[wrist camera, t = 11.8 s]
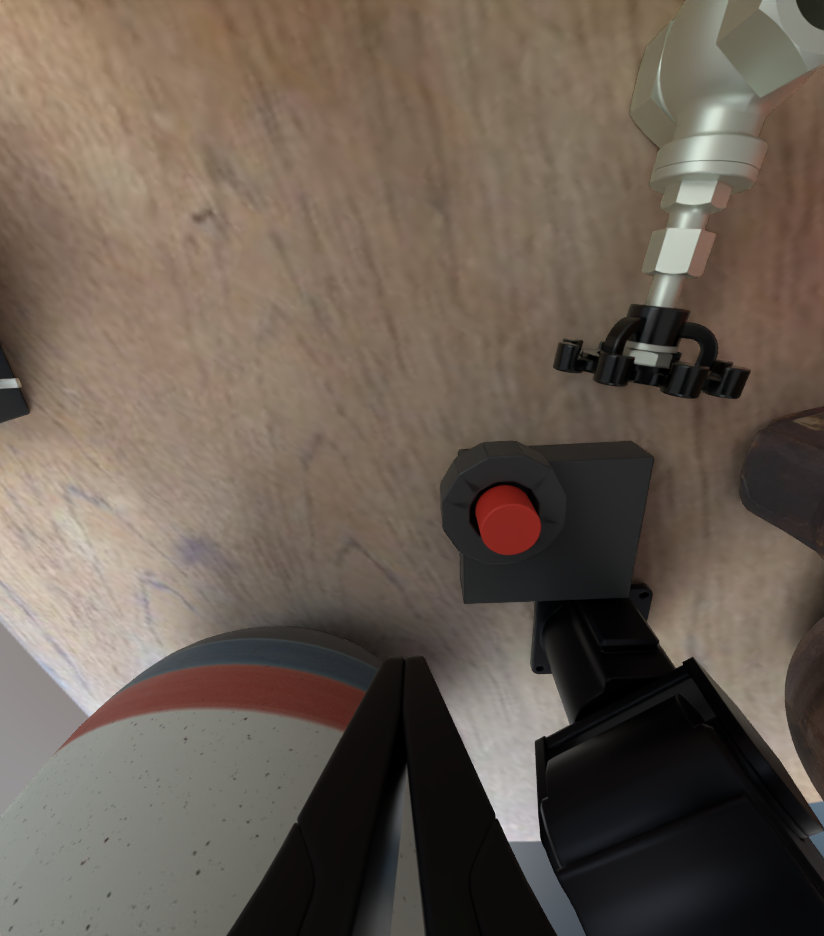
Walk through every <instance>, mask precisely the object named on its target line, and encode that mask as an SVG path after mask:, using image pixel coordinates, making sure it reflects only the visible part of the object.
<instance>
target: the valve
mask: <svg viewBox="0 0 824 936" xmlns="http://www.w3.org/2000/svg"><path fill="white" fill-rule="evenodd" d="M822 67H824V0H685V2H684V3H683V5H682V6H681V8H680V10H679V12H678V13H677V16H676V18H675V19H674V20H672V21H670V22H669V23H668V24H667V25H666V26H665V27H664V28H663V30H662V31H661V32H660V33H659V34H658V35H657V36H656V37H655V38H654V39H653V40H652V41H651V42H650V43H649V44H648V45H647V46H646V49H645V52H644V55H643V59H642V62H641V65H640V69H639V73H638V76H637V80H636V84H635V88H634V93H633V97H632V102H631V108H630V114H629V115H630V116H631V118H632V119H633V121H634V122H635V123H636V125H637V126H638V127H639V128H640V129H641V131H642V132H643V133H644V134H645V135H646V136H647V137H648V138H649V139H650V140H651V141H652V142H653V143H654V144H655V145H657V146H658V147H659V148H660V150H659V151H658V154H657V157H656V161H655V164H654V168H653V171H652V175H651V179H650V182H649V187H650V188H651V189H652V190H653V191H655V192H658V193H661V194H664V195H663V198H662V202H661V205H660V208H661V209H662V210H663V211H665V212H667V213H669V220H668V223H667V226H666V229H662V230H658V231H654V232H652V236H651V239H650V242H649V246H648V249H647V253H646V256H645V259H644V263H643V266H642V270H641V271H642V272H643V273H644V274H647V275H652V276H654V278H653V281H652V284H651V287H650V290H649V294H648V297H647V300H646V304H645V305H638V304H631V305H630V307H629V310H628V313H627V317H624V318H622V319H621V320H619V321H618V322H617V323H616V324H615V325H614V327H613V328H612V329H611V331H610V332H609V334H608V336H607V338H606V340H605V341H601V342H600V344H599V348H598V349H583V350H582V351H581V348H582V344H583V340H576V339H563V341H562V342H559V343H558V347H557V351H556V356H555V360H554V364H553V368H554V369H556V370H559V371H563V372H569V373H582V372H583V371H585V372H590V373H594V376H593V380H594V381H595V382H597V383H601V384H605V385H610V386H618V387H624V386H627V385H628V382H631V383H639V384H645V385H651V386H656V387H659V388H660V391H661V392H662V393H665V394H668V395H671V396H676V397H681V398H689V399H695V398H698V397H699V395H700V393H701V390H702V392H703V393H705V394H708V395H712V396H716V397H722V398H728V399H737V398H739V397H740V396H741V393H742V391H743V389H744V386H745V384H746V381H747V379H748V377H749V374H750V372H751V370H750V369H748V368H744V367H739V366H733V362H730V361H726V360H720V359H717V355H718V343H717V340H716V338H715V335H714V334H713V333H712V332H711V331H710V330H709V329H708V328H706V327H705V326H702V325H700V324H696V323H690V322H687V321H688V319H689V316H690V310H685V309H677V308H676V305H677V302H678V299H679V297H680V294H681V291H682V288H683V285H684V282H685V279H686V278H698V277H700V276H702V275H703V272H704V269H705V266H706V263H707V260H708V258H709V255H710V252H711V249H712V246H713V243H714V240H715V237H716V235H717V234H715V233H712V232H709V231H706V230H705V228H706V225H707V222H708V219H709V216H710V215H711V214H714V213H717V212H720V211H722V210H723V209H725V208H726V206H727V203H728V200H729V197H730V194H735V193H739V192H742V191H745V190H748V189H749V188H751V187H752V186H753V185H754V184H755V181H756V178H757V176H758V173H759V171H760V168H761V165H762V162H763V159H764V157H765V154H766V151H767V148H768V146H767V144H766V142H765V141H764V140H762V139H761V138H758V137H759V134H760V131H761V128H762V125H763V123H764V120H765V118H766V116H767V115H768V113H769V112H770V111H772V110H773V109H775V108H776V107H778V106H779V105H780V104H781V103H783V102H784V101H785V100H786V99H787V98H789V97H790V96H791V95H792V94H793V93H795V92H796V91H797V90H798V89H799V88H800V87H801V86H802V85H803V84H804V83H805V81H806V80H807V79H808V78H809V77H810V76H811V75H812V74H813V73H814V72H815V71H816V70H818V69H820V68H822ZM682 338H686V339H692V340H695V341H696V342H698V344H699V346H700V352H699V355H698V358H697V360H696V363H695V364H693V363H688V362H684V361H680V358H681V355H682V353H681V352H678V351H677V350H678V347H679V344H680V341H681V339H682Z"/></svg>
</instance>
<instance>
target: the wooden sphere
mask: <svg viewBox="0 0 824 936" xmlns="http://www.w3.org/2000/svg"><path fill="white" fill-rule="evenodd" d="M785 708H786V716H787V721H788V726H789V730H790V734H791V737H792V740H793V743H794V746H795V749H796V751H797V754H798V756H799V758H800V760H801V763H802V765H803V767H804V769H805V771H806V773H807V775H808V776H809V778H810V780H811V782H812V783H813V785H814V787H815V788H816V790H817V792H818V793H819V795H820V796H821V798H822V799H823V801H824V617H823V618H821V619H820V620H819V621H818V622H817V623H816V624H815V625H814V626H813V627H812V628H811V629H810V630H809V631H808V632H807V633H806V634H805V636H804V637H803V638H802V640H801V641H800V643H799V644H798V646H797V648H796V650H795V652H794V654H793V656H792V659H791V661H790V664H789V667H788V671H787V676H786V683H785Z"/></svg>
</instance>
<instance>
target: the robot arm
mask: <svg viewBox="0 0 824 936" xmlns="http://www.w3.org/2000/svg"><path fill="white" fill-rule="evenodd" d="M642 592H643V593H642ZM640 593H642V594H640ZM652 595H653V594H652V591H651V590H650V588H649V587H648V586H647V585H646V584H631V585H630V590H629V596H628V598H609V599H582V600H556V601H535V607H534V621H533V634H532V647H531V661H530V664H531V668H532V671H533V672H534V673H536V674H553V677H554V680H555V683H556V686H557V689H558V692H559V694H560V697H561V700H562V703H563V706H564V709H565V712H566V715H567V717H568V720H569V723H570V725H569V726H567V727H565V728H563V729H561V730H559V731H557V732H556V733H554V734H552V735H550V736H548V737H545V736H543V737H542V738H540V739H538V740H536V741H535V756H536V776H537V797H538V817H539V826H540V838H541V842H542V844H543V847H544V848H545V850H546V853H547V856H548V858H549V861H550V863H551V866H552V868H553V871H554V873H555V875H556V877H557V879H558V881H559V883H560V885H561V887H562V888H563V890H564V892H565V893H566V895H567V897H568V898H569V900H570V902H571V904H572V906H573V907H574V909H575V911H576V914H577V916H578V918H579V921H580V923H581V925H582V927H583V929H584V932H585V934H586V936H824V858H823V856H822V855H821V853H820V852H819V851H818V849H817V848H816V847H815V845H814V844H813V843H812V841H811V840H810V839H809V836H811V835H814V834H817V833H820V832H822V831H824V828H823V826H822V824H821V823H820V821H819V820H818V818H817V817H816V815H815V814H814V812H813V811H812V809H811V807H810V806H809V804H808V803H807V801H806V800H805V798H804V797H803V795H802V794H801V792H800V791H799V789H798V788H797V786H796V784H795V783H794V781H793V780H792V778H791V777H790V775H789V774H788V772H787V771H786V769H785V768H784V766H783V765H782V763H781V761H780V760H779V759H778V757H777V756H776V755H775V754H774V752H773V751H772V750H771V748H770V747H769V746H768V745H767V743H766V742H765V741H764V740H763V738H762V737H761V736H760V734H759V733H758V732H757V731H756V729H755V728H754V727H753V726H752V724H751V723H750V722H749V720H748V719H747V718H746V717H745V715H744V714H743V713H742V712H741V710H740V709H739V708H738V707H737V706H736V705H735V703H734V702H733V701H732V700H731V699H730V698H729V697H728V696H727V694H726V693H725V692H724V691H723V690H722V689H721V688H720V687H719V685H718V684H717V683H716V682H715V681H714V680H713V679H712V678H711V676H710V675H709V674H708V673H707V672H706V671H705V670H704V669H703V668H702V666H701V665H700V664H699V663H698V662H697V661H696V660H695V659H694V657H692V658H690V659H688V660H686V661H684V662H682V663H683V665H682V666H680V667H678V668H675V666H674V665H673V663H672V662H671V660H670V659H669V657H668V656H667V655H666V653H665V652H664V650H663V649H662V647H661V646H660V644H659V639H658V638H657V637H656V635H655V634H654V632H653V631H652V629H651V628H650V626H649V625H648V623H647V618H648V614H649V609H650V604H651V600H652ZM539 665H540V666H539ZM407 773H408V783H409V793H410V802H411V812H412V821H413V830H414V840H415V849H416V859H417V868H418V878H419V887H420V896H421V906H422V915H423V925H424V934H425V936H557V934H556V932H555V931H554V929H553V927H552V926H551V924H550V922H549V920H548V919H547V917H546V915H545V913H544V911H543V909H542V908H541V906H540V904H539V902H538V900H537V898H536V896H535V895H534V893H533V891H532V889H531V887H530V885H529V884H528V882H527V880H526V878H525V876H524V874H523V872H522V870H521V868H520V866H519V863H518V862H517V860H516V857H515V855H514V853H513V851H512V849H511V847H510V845H509V843H508V841H507V838H506V836H505V834H504V832H503V830H502V827H501V825H500V823H499V821H498V819H495V812H494V810H493V808H492V806H491V804H490V801H489V799H488V797H487V795H486V793H485V790H484V788H483V786H482V784H481V781H480V779H479V777H478V775H477V773H476V770H475V768H474V766H473V764H472V762H471V759H470V757H469V755H468V753H467V750H466V748H465V746H464V744H463V742H462V739H461V737H460V735H459V733H458V731H457V728H456V726H455V724H454V722H453V720H452V717H451V715H450V713H449V711H448V708H447V706H446V704H445V702H444V700H443V697H442V695H441V693H440V691H439V689H438V686H437V684H436V682H435V680H434V677H433V675H432V673H431V671H430V669H429V666H428V664H427V662H426V660H425V658H424V657H423V656H407V657H406V658H405V660H404V658H403V657H401V656H398V657H386V658H385V659H384V660H383V662H382V664H381V666H380V667H379V669H378V671H377V673H376V675H375V676H374V678H373V680H372V682H371V684H370V686H369V687H368V689H367V691H366V693H365V695H364V697H363V698H362V700H361V702H360V704H359V706H358V708H357V709H356V711H355V713H354V715H353V717H352V718H351V720H350V722H349V724H348V726H347V728H346V729H345V731H344V733H343V735H342V737H341V739H340V740H339V742H338V744H337V746H336V748H335V750H334V751H333V753H332V755H331V757H330V759H329V760H328V762H327V764H326V766H325V768H324V770H323V771H322V773H321V775H320V777H319V779H318V781H317V782H316V784H315V786H314V788H313V790H312V792H311V793H310V795H309V797H308V799H307V801H306V802H305V804H304V806H303V808H302V810H301V812H300V813H299V815H298V817H297V822H298V823H294V824H293V826H292V828H291V829H290V831H289V833H288V835H287V837H286V839H285V840H284V842H283V844H282V846H281V848H280V849H279V851H278V853H277V855H276V856H275V858H274V860H273V862H272V863H271V865H270V867H269V868H268V870H267V872H266V874H265V875H264V877H263V879H262V881H261V882H260V884H259V885H258V887H257V889H256V890H255V892H254V893H253V895H252V896H251V898H250V900H249V901H248V903H247V904H246V906H245V907H244V909H243V910H242V912H241V914H240V915H239V917H238V918H237V920H236V921H235V923H234V925H233V926H232V928H231V929H230V931H229V932H228V934H227V935H226V936H390V932H391V923H392V913H393V903H394V894H395V884H396V875H397V865H398V856H399V846H400V836H401V827H402V817H403V808H404V798H405V788H406V776H407Z"/></svg>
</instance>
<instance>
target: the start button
mask: <svg viewBox="0 0 824 936" xmlns="http://www.w3.org/2000/svg"><path fill="white" fill-rule="evenodd" d="M475 513H476V518H477V522H478V526H479V530H480V534H481V538H482V540H483V542H484V544H485V545H486V546H487V547H488V548H489V549H491V550H492V551H494V552H496V553H498V554H502V555H515V554H519V553H522V552H524V551H526V550H528V549H529V548H530V547H532V546H533V545H534V544H535V542H536V541H537V540H538V538H539V535H540V532H541V521H540V518H539V516H538V514H537V513H536V511H535V509H534V507H533V505H532V503H531V501H530V499H529V497H528V496H527V494H526V493H525V492H524V491H522V490H521V489H519V488H517V487H515V486H511V485H500V486H496V487H493V488H491V489H489V490H487V491H486V492H485V493H484V494H483V495H482V496H481V497H480V498H479V500H478V502H477V504H476V510H475Z"/></svg>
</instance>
